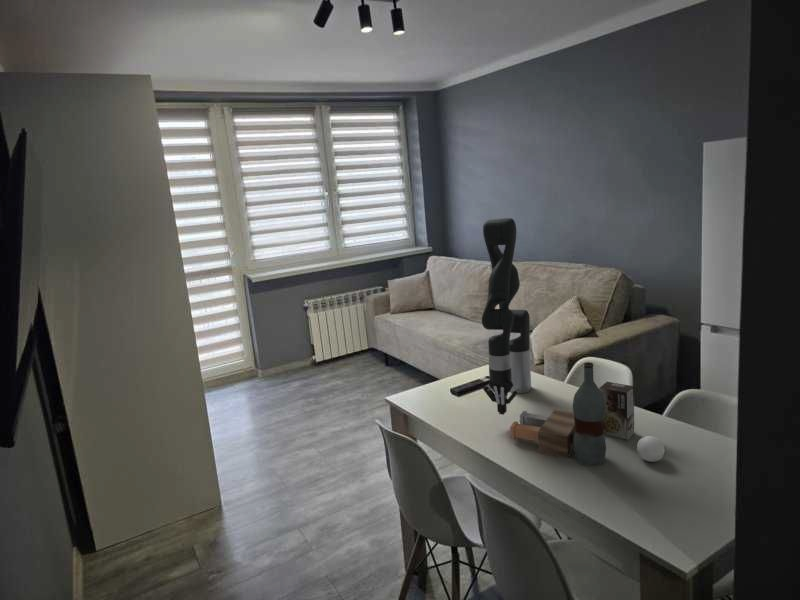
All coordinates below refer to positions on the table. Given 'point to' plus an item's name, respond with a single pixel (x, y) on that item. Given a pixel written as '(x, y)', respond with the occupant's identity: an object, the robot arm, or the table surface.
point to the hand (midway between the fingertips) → (502, 413)
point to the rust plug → (524, 431)
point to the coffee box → (618, 409)
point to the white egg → (650, 448)
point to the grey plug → (532, 419)
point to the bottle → (589, 421)
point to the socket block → (557, 434)
